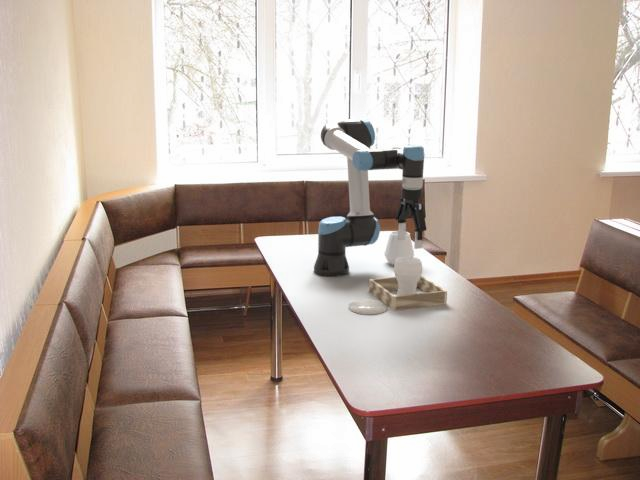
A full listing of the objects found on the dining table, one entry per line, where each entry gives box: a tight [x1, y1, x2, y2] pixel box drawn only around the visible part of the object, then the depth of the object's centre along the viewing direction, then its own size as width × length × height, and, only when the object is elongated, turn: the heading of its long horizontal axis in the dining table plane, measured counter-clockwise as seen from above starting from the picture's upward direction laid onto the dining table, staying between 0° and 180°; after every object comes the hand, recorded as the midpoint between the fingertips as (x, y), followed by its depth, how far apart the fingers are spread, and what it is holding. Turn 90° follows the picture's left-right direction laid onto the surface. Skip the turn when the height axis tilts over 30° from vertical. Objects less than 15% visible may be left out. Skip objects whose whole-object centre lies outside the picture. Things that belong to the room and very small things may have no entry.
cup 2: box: [393, 257, 423, 296], centre depth 253 cm, size 11×11×15 cm
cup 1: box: [383, 230, 415, 266], centre depth 300 cm, size 13×13×14 cm
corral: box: [368, 275, 448, 311], centre depth 255 cm, size 22×22×5 cm
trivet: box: [348, 299, 388, 316], centre depth 244 cm, size 14×14×1 cm
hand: (409, 244), depth 250 cm, fingers open, 13 cm apart
